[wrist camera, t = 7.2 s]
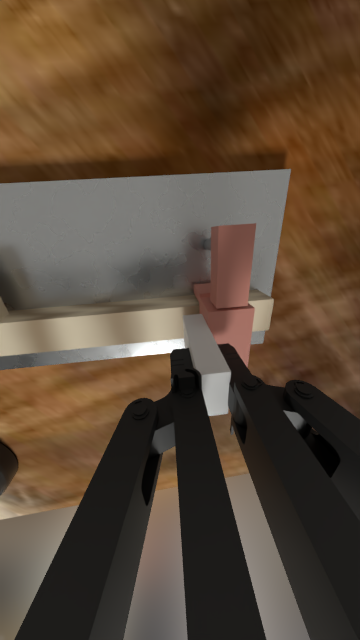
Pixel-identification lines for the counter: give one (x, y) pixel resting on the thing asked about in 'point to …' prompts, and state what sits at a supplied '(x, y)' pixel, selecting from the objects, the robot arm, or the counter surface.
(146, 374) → the counter surface
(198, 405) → the robot arm
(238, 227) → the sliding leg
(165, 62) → the counter surface
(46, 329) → the beam with fixed leg
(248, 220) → the steel plate
